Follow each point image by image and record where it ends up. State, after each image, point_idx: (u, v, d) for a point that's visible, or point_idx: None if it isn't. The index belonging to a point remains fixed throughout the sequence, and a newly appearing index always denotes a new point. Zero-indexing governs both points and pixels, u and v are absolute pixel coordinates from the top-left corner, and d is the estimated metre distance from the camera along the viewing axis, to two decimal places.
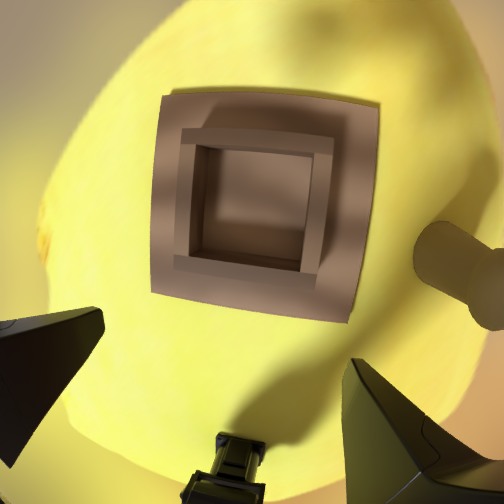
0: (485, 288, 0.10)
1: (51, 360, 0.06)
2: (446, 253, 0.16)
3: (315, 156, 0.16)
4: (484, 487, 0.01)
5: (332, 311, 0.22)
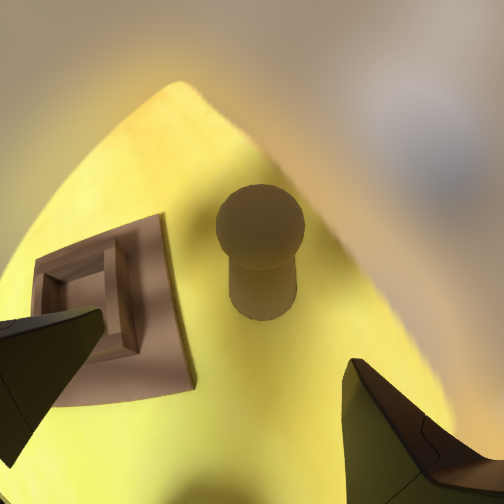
0: (217, 225, 0.15)
1: (51, 360, 0.06)
2: None
3: (104, 252, 0.22)
4: (484, 487, 0.01)
5: (170, 381, 0.19)
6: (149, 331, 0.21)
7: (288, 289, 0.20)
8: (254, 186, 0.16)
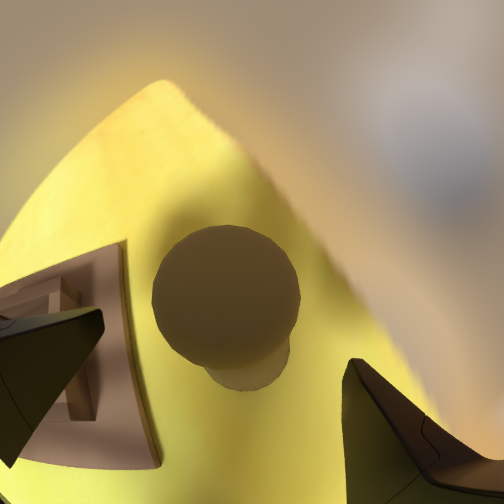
0: (152, 301, 0.09)
1: (51, 361, 0.06)
2: None
3: (49, 296, 0.15)
4: (484, 487, 0.01)
5: (130, 456, 0.12)
6: (104, 396, 0.14)
7: (275, 364, 0.13)
8: (214, 231, 0.09)
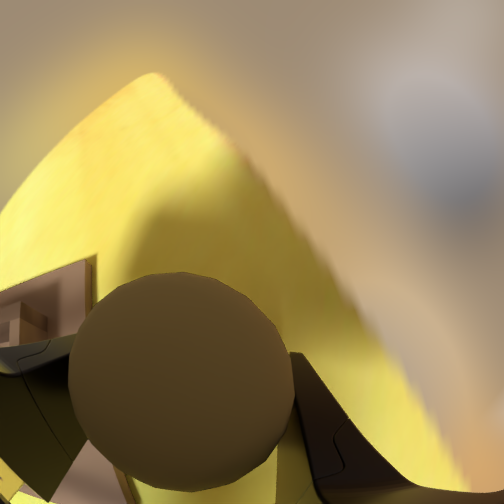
0: None
1: None
2: None
3: (10, 324, 0.11)
4: None
5: (105, 501, 0.08)
6: None
7: None
8: (148, 288, 0.05)
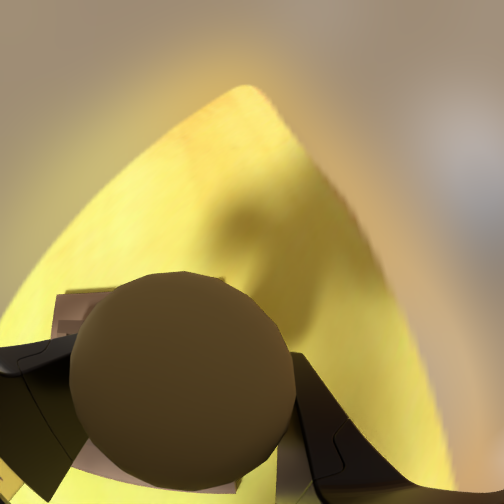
0: None
1: None
2: None
3: None
4: None
5: None
6: None
7: None
8: (150, 287, 0.05)
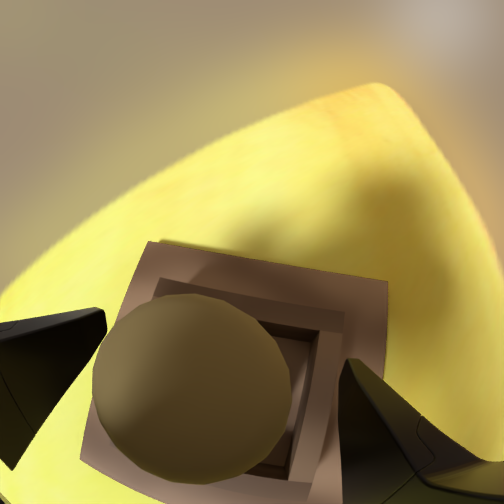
0: None
1: (53, 362, 0.06)
2: None
3: (320, 335, 0.13)
4: (478, 490, 0.01)
5: None
6: (328, 462, 0.12)
7: None
8: (166, 311, 0.06)
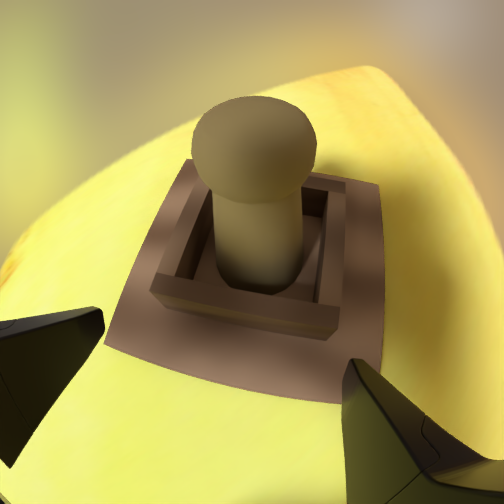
0: (192, 140, 0.10)
1: (51, 361, 0.06)
2: None
3: (329, 193, 0.17)
4: (484, 487, 0.01)
5: None
6: (348, 316, 0.16)
7: (293, 249, 0.15)
8: None
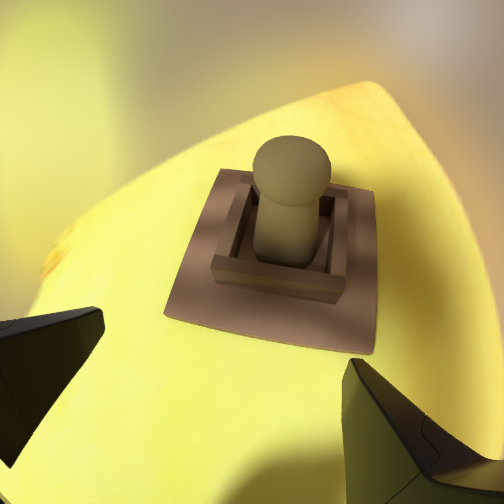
0: (255, 165, 0.16)
1: (51, 361, 0.06)
2: (257, 213, 0.21)
3: (336, 199, 0.24)
4: (484, 487, 0.01)
5: (356, 339, 0.20)
6: (351, 287, 0.23)
7: (313, 238, 0.21)
8: (287, 136, 0.17)
